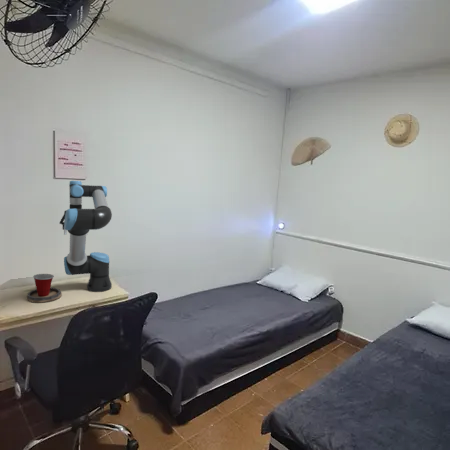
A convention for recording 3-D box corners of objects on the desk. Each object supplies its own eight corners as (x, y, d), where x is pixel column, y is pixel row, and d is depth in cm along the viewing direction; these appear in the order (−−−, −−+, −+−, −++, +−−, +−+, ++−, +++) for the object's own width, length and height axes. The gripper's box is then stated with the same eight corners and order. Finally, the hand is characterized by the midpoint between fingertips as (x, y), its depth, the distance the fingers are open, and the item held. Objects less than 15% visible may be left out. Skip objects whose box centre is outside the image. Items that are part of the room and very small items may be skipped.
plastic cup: (57, 295, 198) (56, 276, 196) (37, 299, 190) (37, 279, 188) (49, 290, 205) (49, 271, 203) (30, 294, 197) (30, 274, 195)
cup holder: (66, 291, 207) (66, 287, 207) (54, 303, 189) (54, 299, 189) (35, 290, 205) (35, 286, 205) (20, 302, 187) (20, 298, 187)
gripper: (96, 204, 227) (96, 234, 231) (58, 202, 224) (58, 232, 228) (93, 205, 220) (93, 236, 223) (53, 203, 217) (54, 234, 220)
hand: (75, 234), depth 226 cm, fingers open, 13 cm apart
